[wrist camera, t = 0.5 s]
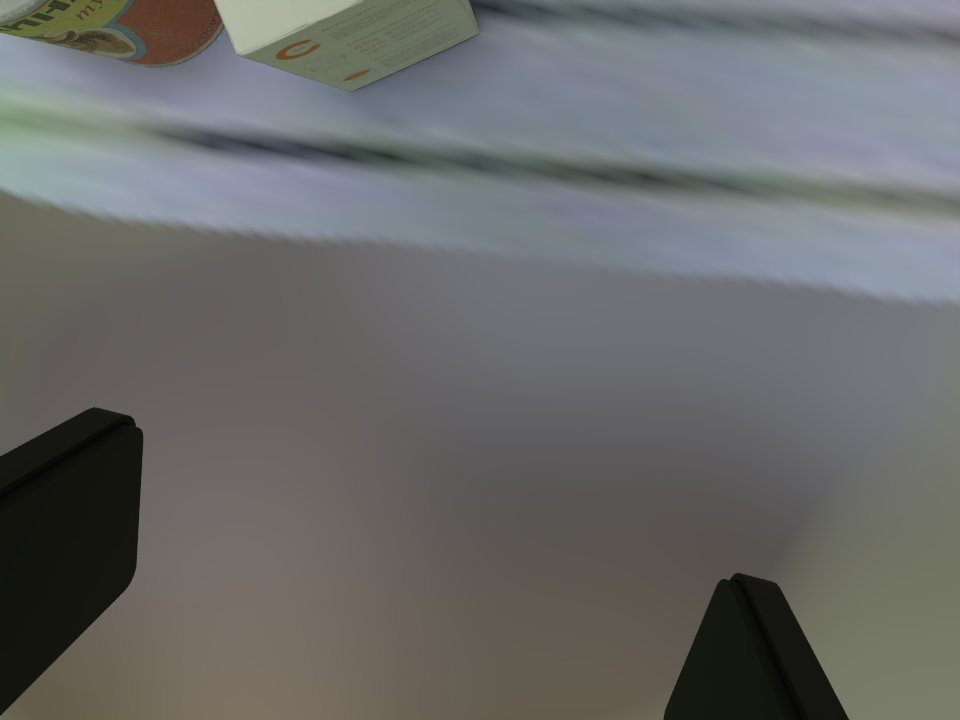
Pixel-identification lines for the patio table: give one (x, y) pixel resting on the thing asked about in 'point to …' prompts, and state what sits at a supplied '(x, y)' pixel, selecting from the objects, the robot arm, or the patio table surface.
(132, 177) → the patio table surface
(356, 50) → the small box
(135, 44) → the canned food
